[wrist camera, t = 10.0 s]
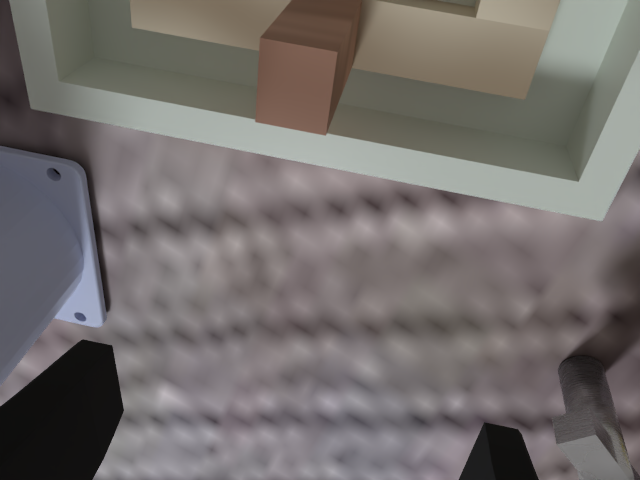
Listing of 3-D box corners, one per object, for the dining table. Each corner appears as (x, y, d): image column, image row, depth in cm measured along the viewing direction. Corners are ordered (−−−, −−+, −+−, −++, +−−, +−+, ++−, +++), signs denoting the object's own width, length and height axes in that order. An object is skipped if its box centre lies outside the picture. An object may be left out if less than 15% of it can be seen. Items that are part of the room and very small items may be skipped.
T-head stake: (626, 399, 22) (659, 510, 19) (584, 410, 23) (609, 519, 20) (576, 326, 21) (602, 432, 17) (533, 340, 21) (550, 446, 18)
